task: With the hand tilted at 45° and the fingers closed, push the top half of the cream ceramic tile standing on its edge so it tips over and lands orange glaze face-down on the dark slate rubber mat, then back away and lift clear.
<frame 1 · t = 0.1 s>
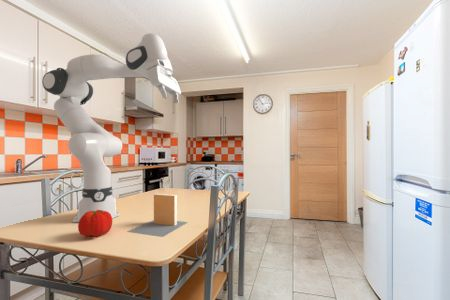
hand: (171, 100, 96), 52 cm above the table, fingers open, 8 cm apart
mat: (159, 227, 92), on the table
tile: (163, 224, 94), resting on mat
tomato: (95, 236, 83), on the table
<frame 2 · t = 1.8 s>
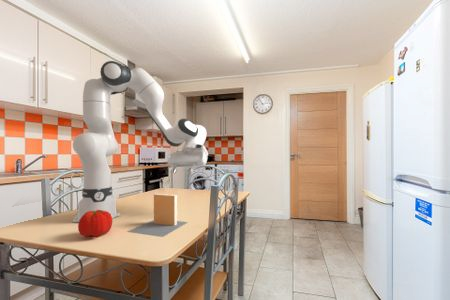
hand: (181, 172, 107), 21 cm above the table, fingers open, 8 cm apart
nothing on the table moved.
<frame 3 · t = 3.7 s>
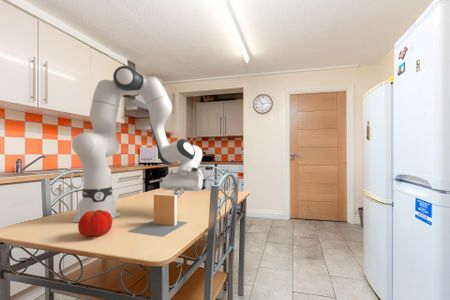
hand: (175, 197, 103), 10 cm above the table, fingers closed
nothing on the table moved.
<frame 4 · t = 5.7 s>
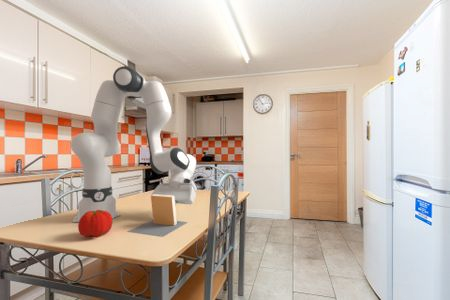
hand: (166, 210, 96), 6 cm above the table, fingers closed
tile: (163, 224, 94), resting on mat, tilted 9°
everything else where it was.
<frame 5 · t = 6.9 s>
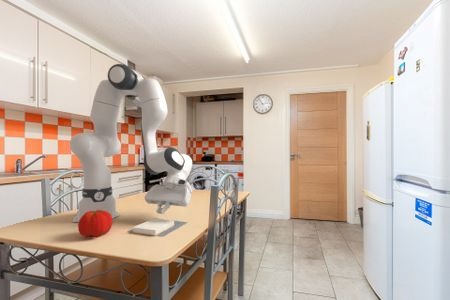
hand: (159, 212, 92), 6 cm above the table, fingers closed
tile: (163, 224, 94), resting on mat, tilted 90°
everything else where it was.
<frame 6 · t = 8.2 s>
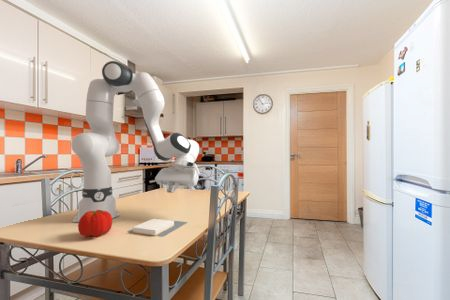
hand: (169, 191, 99), 13 cm above the table, fingers closed
nothing on the table moved.
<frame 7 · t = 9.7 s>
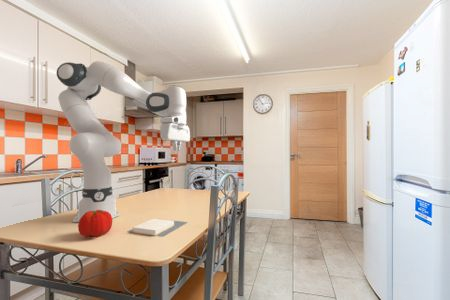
hand: (176, 150, 106), 31 cm above the table, fingers closed
nothing on the table moved.
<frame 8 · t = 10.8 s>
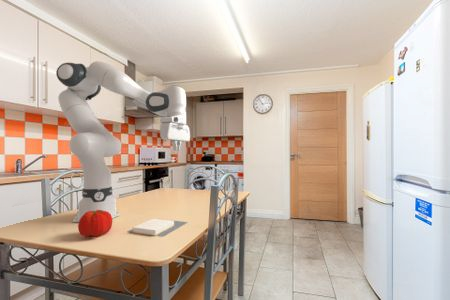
hand: (176, 150, 106), 31 cm above the table, fingers closed
nothing on the table moved.
at the end: tile tilted 90°; tile inside the target area on the mat (0.2 cm from its centre), point 0.5 cm above the mat's base; the gripper is holding nothing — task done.
